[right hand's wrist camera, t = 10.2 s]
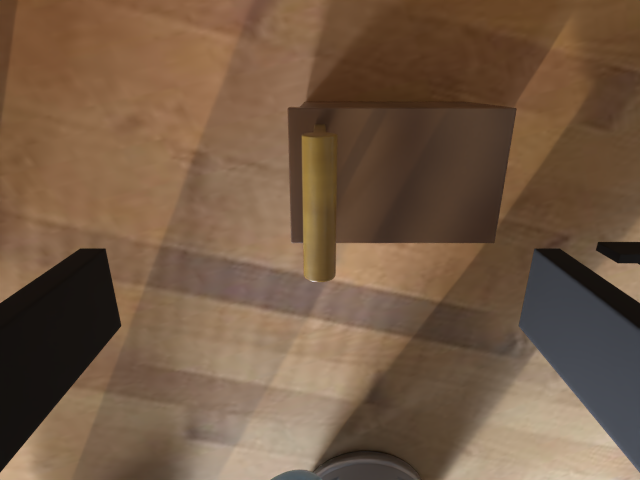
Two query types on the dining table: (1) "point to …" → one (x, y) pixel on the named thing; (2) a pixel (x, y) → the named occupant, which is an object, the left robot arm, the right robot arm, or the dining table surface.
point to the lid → (394, 177)
